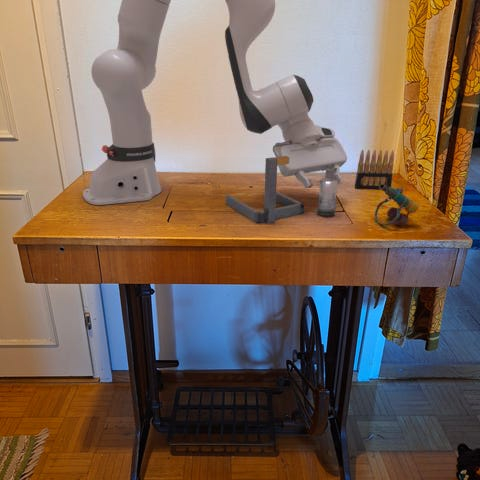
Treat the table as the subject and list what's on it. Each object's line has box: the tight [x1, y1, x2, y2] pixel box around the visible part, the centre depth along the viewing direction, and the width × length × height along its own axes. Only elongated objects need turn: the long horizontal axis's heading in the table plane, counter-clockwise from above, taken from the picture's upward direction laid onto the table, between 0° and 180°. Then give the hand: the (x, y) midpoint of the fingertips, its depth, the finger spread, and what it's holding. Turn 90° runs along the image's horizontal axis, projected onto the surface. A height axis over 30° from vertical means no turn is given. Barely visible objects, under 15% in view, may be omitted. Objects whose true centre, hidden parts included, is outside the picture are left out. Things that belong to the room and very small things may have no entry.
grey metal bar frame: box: [225, 156, 305, 225], centre depth 114 cm, size 14×18×16 cm
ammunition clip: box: [354, 149, 395, 191], centre depth 133 cm, size 11×2×12 cm, turn 86°
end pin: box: [316, 177, 339, 218], centre depth 113 cm, size 5×5×9 cm
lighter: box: [322, 169, 341, 179], centre depth 139 cm, size 7×2×8 cm, turn 84°
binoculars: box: [374, 184, 420, 227], centre depth 108 cm, size 9×9×10 cm
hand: (323, 184), depth 114 cm, fingers open, 8 cm apart
